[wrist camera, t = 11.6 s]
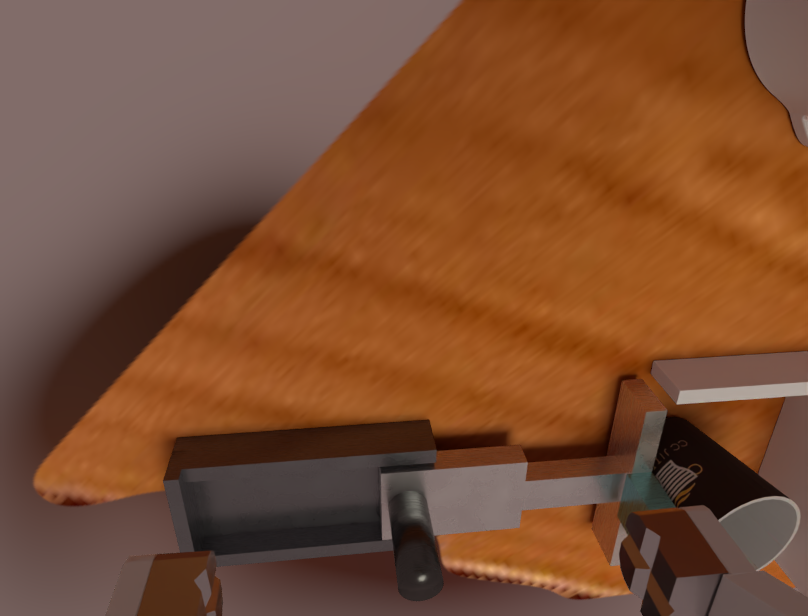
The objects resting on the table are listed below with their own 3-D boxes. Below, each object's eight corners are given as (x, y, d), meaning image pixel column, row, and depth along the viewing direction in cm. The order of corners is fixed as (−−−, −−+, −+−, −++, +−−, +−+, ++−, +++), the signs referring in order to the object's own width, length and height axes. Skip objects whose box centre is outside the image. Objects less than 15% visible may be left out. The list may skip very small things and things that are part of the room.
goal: (816, 350, 49) (925, 430, 40) (753, 517, 57) (831, 613, 48) (653, 360, 47) (729, 446, 38) (614, 530, 56) (668, 631, 47)
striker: (651, 378, 47) (774, 524, 34) (617, 526, 55) (707, 691, 42) (376, 396, 45) (397, 559, 32) (379, 548, 52) (398, 730, 40)
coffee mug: (693, 388, 49) (791, 475, 40) (715, 451, 53) (808, 542, 45) (567, 463, 49) (637, 565, 41) (600, 519, 54) (670, 622, 45)
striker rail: (429, 419, 47) (438, 459, 43) (426, 513, 52) (435, 556, 48) (176, 437, 45) (163, 480, 41) (197, 533, 50) (186, 580, 46)
